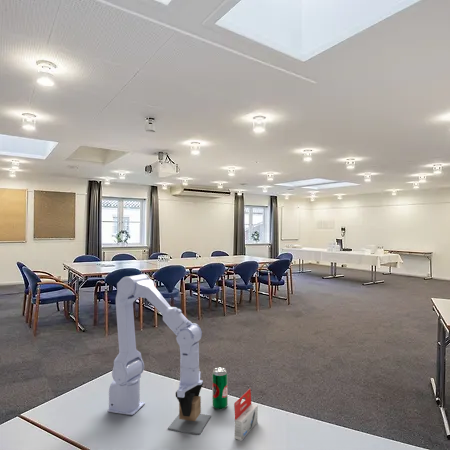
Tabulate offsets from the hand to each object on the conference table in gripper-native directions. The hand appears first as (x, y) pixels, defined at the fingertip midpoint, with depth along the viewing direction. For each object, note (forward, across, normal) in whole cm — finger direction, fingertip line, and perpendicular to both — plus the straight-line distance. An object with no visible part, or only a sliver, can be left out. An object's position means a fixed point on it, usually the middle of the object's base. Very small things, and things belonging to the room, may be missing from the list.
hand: (189, 410), depth 102 cm
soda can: (+4, +12, -6) cm, 14 cm away
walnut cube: (+2, 0, 0) cm, 2 cm away
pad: (+4, 0, 0) cm, 4 cm away
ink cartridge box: (+4, +1, -17) cm, 18 cm away
